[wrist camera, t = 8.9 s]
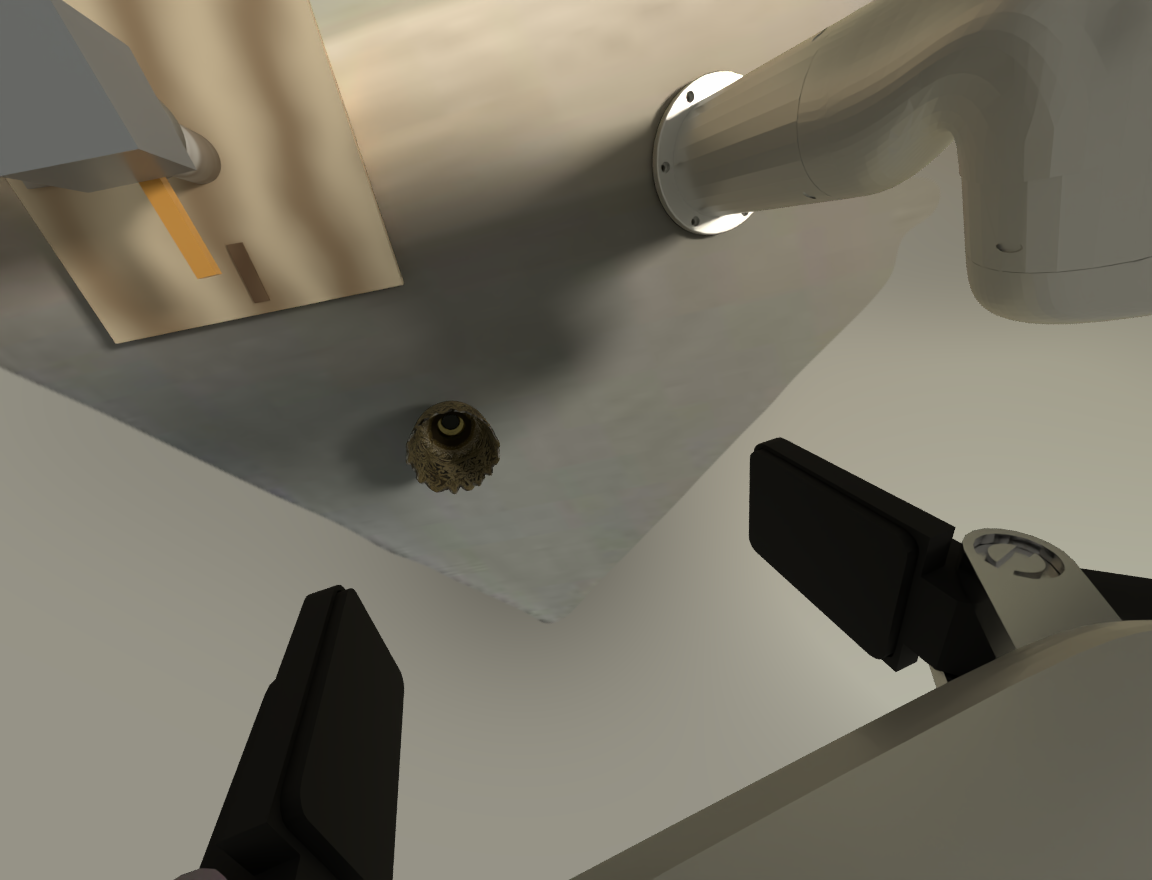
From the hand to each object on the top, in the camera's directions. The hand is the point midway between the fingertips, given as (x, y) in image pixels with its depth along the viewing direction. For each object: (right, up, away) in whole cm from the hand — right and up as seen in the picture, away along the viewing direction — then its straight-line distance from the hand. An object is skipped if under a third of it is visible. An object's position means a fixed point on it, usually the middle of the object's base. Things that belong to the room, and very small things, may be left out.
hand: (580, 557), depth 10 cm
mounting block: (-26, +22, +20) cm, 39 cm away
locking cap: (-23, +17, +14) cm, 31 cm away
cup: (-12, +5, +32) cm, 35 cm away
